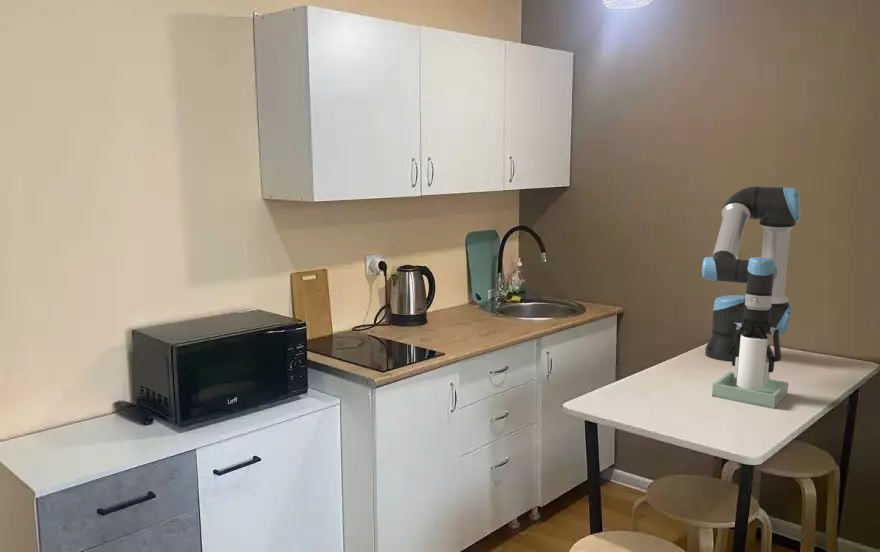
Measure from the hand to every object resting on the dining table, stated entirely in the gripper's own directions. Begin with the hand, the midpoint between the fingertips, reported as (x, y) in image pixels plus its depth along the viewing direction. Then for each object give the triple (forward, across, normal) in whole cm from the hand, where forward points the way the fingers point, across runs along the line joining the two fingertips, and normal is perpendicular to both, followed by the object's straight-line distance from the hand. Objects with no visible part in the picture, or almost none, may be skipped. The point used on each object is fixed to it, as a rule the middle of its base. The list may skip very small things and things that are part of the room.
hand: (751, 378), depth 226 cm
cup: (+2, 0, 0) cm, 2 cm away
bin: (+5, 0, 0) cm, 5 cm away
